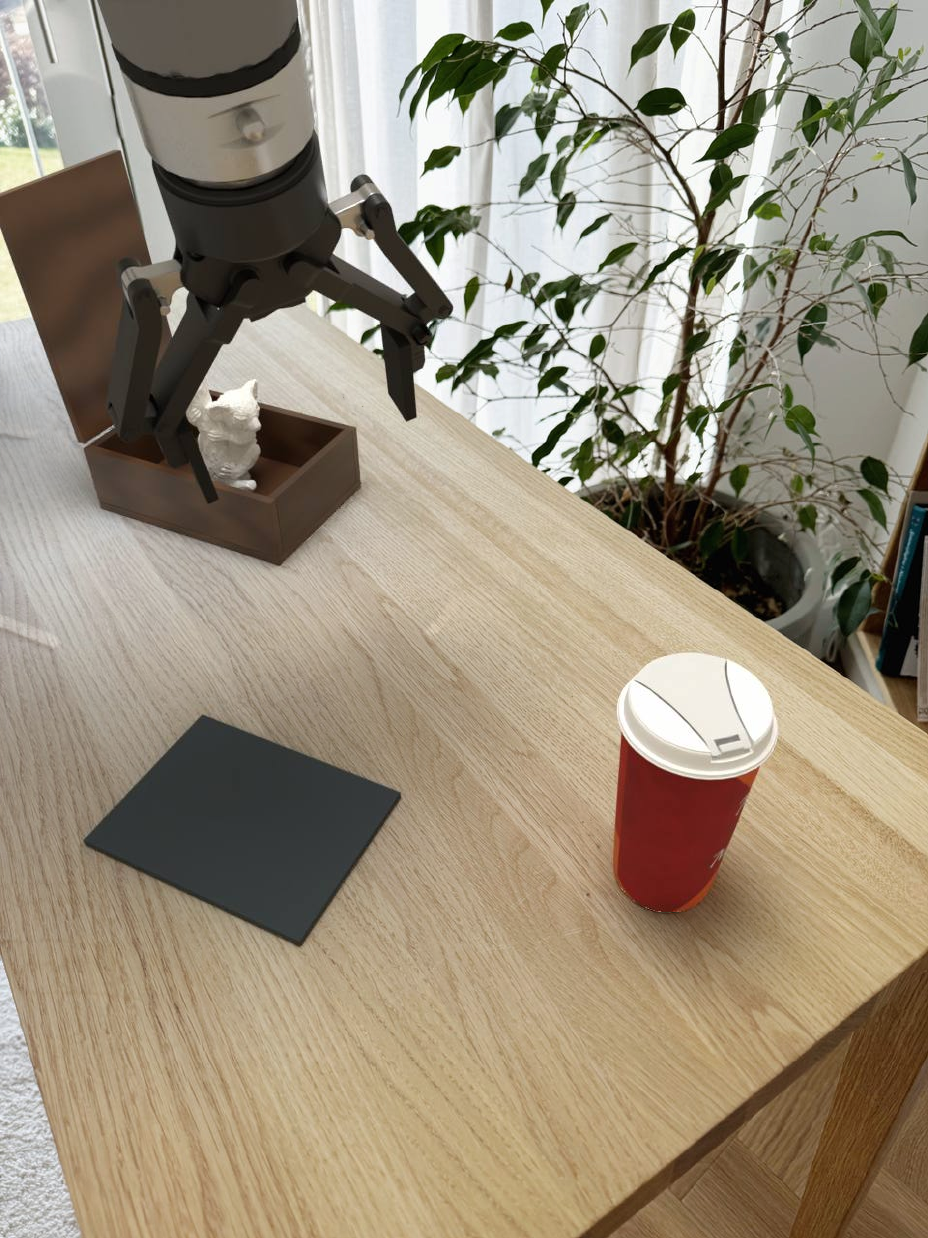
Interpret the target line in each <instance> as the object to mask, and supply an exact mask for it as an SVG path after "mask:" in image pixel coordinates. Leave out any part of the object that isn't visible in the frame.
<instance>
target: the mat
mask: <svg viewBox="0 0 928 1238" xmlns="http://www.w3.org/2000/svg"><path fill="white" fill-rule="evenodd" d="M401 798H402V792H401V791H398V790H395V789H394V788H390V787H388V786H385V785H383V784H380V783H378V782H375V781H373V780H371V779H368V778H365V777H363V776H360V775H357V774H355V773H353V772H351V771H347V770H345V769H342V768H340V767H338V766H335V765H332V764H330V763H327V762H325V761H322V760H321V759H320V760H319V759H317V758H315V757H312V756H310V755H307V754H304V753H302V752H300V751H297V750H294V749H292V748H290V747H287V746H283V745H281V744H279V743H277V742H274V741H271V740H270V739H266V738H264V737H261V736H258V735H257V734H254V733H251V732H249V731H246V730H243V729H241V728H239V727H236V726H233V725H231V724H228V723H226V722H223V721H221V720H218V719H215V718H213V717H210V716H207V715H205V714H201V715H200V716H199V717H198V718H197V719H196V720H195V721H194V723H193V724H192V725H191V726H189V728H188V729H187V730H186V731H185V732H184V733H183V734H182V735H181V736H180V737H179V738H178V739H177V741H176V742H174V743H173V745H172V746H171V747H170V748H168V750H167V751H166V752H165V753H164V754H163V755H162V756H161V757H160V758H159V759H158V760H157V762H155V763H154V765H152V767H151V768H150V769H149V770H148V771H147V772H146V773H145V774H144V775H143V776H142V777H141V779H139V780H138V782H136V784H135V785H134V786H133V787H132V788H130V790H129V791H128V792H127V793H126V794H125V795H124V797H122V799H121V800H119V802H118V803H116V804H115V806H114V807H112V809H111V810H110V811H109V812H108V813H107V814H106V816H105V817H103V818H102V820H100V821H99V823H98V824H97V825H95V827H94V828H93V829H92V830H91V831H90V832H89V833H88V835H86V836H85V837H84V838H83V840H82V841H83V843H84V845H85V846H87V847H89V848H91V849H94V850H96V851H97V852H100V853H102V854H104V855H106V856H108V857H111V858H112V859H115V860H117V861H119V862H121V863H123V864H125V865H127V866H129V867H132V868H133V869H136V870H138V871H140V872H142V873H144V874H147V876H150V877H153V878H155V879H157V880H159V881H162V882H163V883H166V884H168V885H169V886H171V887H174V888H176V889H178V890H180V891H183V892H184V893H186V894H189V895H192V896H193V897H195V898H197V899H200V900H201V901H204V902H206V903H208V904H210V905H212V906H214V907H216V908H218V909H220V910H223V911H224V912H227V913H229V914H231V915H234V916H235V917H237V918H240V919H242V920H244V921H246V922H248V923H250V924H252V925H255V926H256V927H259V928H260V929H263V930H265V931H267V932H269V933H271V934H273V935H276V936H277V937H279V938H282V939H284V940H286V941H289V942H290V941H291V942H290V943H292V942H293V944H295V945H296V946H299V945H301V946H302V945H303V943H304V941H306V939H307V937H308V935H309V934H310V933H309V931H310V932H311V931H312V930H313V928H314V927H313V926H315V925H316V924H317V922H318V921H319V919H320V918H321V916H322V915H323V913H324V912H325V910H326V909H327V908H328V906H329V905H330V903H331V901H332V900H333V898H334V897H335V896H336V894H337V893H336V892H338V891H339V890H340V888H341V887H342V885H343V884H344V882H345V881H346V879H347V878H348V877H349V875H350V874H351V872H352V870H353V869H354V867H355V866H356V865H357V863H358V862H359V860H360V859H361V857H362V856H363V854H364V853H365V852H366V850H367V848H368V847H369V845H370V844H371V842H372V841H373V839H374V838H375V836H376V835H377V834H378V832H379V831H380V829H381V827H382V826H383V824H384V823H385V822H386V820H387V819H388V817H389V816H390V814H391V813H392V811H393V810H394V808H395V807H396V805H397V804H398V802H399V801H400V799H401ZM388 815H389V816H388ZM369 843H370V844H369ZM366 847H367V848H366ZM354 865H355V866H354ZM352 868H353V869H352ZM350 871H351V872H350ZM348 874H349V875H348ZM346 877H347V878H346ZM344 880H345V881H344ZM342 883H343V884H342ZM341 884H342V885H341ZM340 886H341V887H340ZM339 887H340V888H339ZM338 889H339V890H338ZM337 890H338V891H337ZM335 893H336V894H335ZM333 896H334V897H333ZM331 899H332V900H331ZM329 902H330V903H329ZM327 905H328V906H327ZM325 908H326V909H325ZM321 914H322V915H321ZM320 915H321V916H320ZM319 917H320V918H319ZM318 918H319V919H318ZM317 920H318V921H317ZM316 921H317V922H316ZM315 923H316V924H315ZM314 924H315V925H314ZM311 929H312V930H311ZM308 933H309V934H308ZM307 934H308V935H307ZM306 936H307V937H306Z"/></svg>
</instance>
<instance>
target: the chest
mask: <svg viewBox="0 0 928 1238" xmlns="http://www.w3.org/2000/svg"><path fill="white" fill-rule="evenodd" d="M208 390H209V394H210V396H211V399H212V402H214V401H217V400H218V399H219V397H220V395H223V394H224V393H225V392H221V391H216V390H212V389H209V388H208ZM256 402H257V403H258V406H259V407H260V410H259V416H258V420H259V422H260V424H261V427H260V430H258V431H257V432H256V438H255V439H257V442H256V444H257V445H259V447H260V455H259V458H258V459H257V461H256V463H255V465H254V466H253V467H252V468H251V469H249V470H248V472H249V474H250V476H251V479H250V480H254V481H255V482H256V488H255V490H254V491H253V492H250V491H247V490H243V489H240V488H237V487H233V486H230V485H226V484H223V483H220V482H216V481H213V480H212V482H213V485H214V487H215V490H216V493H217V495H218V498H219V500H217V501H214V502H212V503H210V504H207V502H206V500H205V498H204V496H203V494H202V492H201V490H200V487H199V485H198V483H197V481H196V479H195V477H194V475H193V473H192V471H191V469H190V466H189V464H186V465H183V466H181V467H178V468H176V469H174V468H172V467H171V466H169V464H168V462H167V460H166V458H165V456H164V454H163V452H162V450H161V448H160V445H159V443H158V441H157V439H156V437H155V436H154V435H151V434H141V436H140V438H139V439H138V440H136V441H134V442H130V443H127V442H123V441H121V439H120V438H119V436H118V433H117V431H116V429H115V427H114V426H113V428H111V429H109V430H108V431H107V432H105V433H103V434H102V435H101V436H99V437H97V438H96V439H95V440H93V441H92V442H90V443H88V444H86V446H84V447H83V448H82V449H83V452H84V456H85V460H86V463H87V467H88V469H89V474H90V477H91V481H92V483H93V486H94V490H95V493H96V496H97V500H98V504H99V507H100V509H104V510H106V511H110V512H113V513H116V514H119V515H122V516H125V517H127V518H131V519H133V520H137V521H141V522H144V523H146V524H150V525H153V526H156V527H159V528H162V529H165V530H169V531H170V532H171V531H172V532H174V533H178V534H181V535H184V536H187V537H190V538H194V539H196V540H200V541H203V542H206V543H209V544H213V545H215V546H217V547H218V546H219V547H222V548H225V549H228V550H232V551H233V552H237V553H240V554H243V555H246V556H250V557H253V558H256V559H259V560H262V561H264V562H268V563H272V564H275V565H277V566H280V565H281V564H282V563H283V562H284V561H286V559H288V558H289V557H290V556H291V555H292V554H293V553H294V552H295V551H296V550H297V549H298V548H299V547H300V546H301V545H302V544H303V543H304V542H306V540H307V539H308V538H309V537H310V536H312V534H313V533H314V532H315V531H316V530H317V529H318V528H320V527H321V525H323V523H325V522H326V521H327V520H328V519H329V518H330V517H331V516H332V515H333V514H334V513H335V512H336V511H337V510H338V509H339V508H340V507H342V505H343V504H344V503H345V502H346V501H347V500H348V499H349V498H350V497H351V496H352V495H353V494H354V493H356V491H358V490H359V489H360V488H361V486H362V482H361V481H362V480H361V469H360V457H359V456H360V455H359V443H358V431H357V426H352V425H348V424H345V423H341V422H337V421H333V420H330V419H326V418H321V417H319V416H318V417H317V416H314V415H310V414H306V413H302V412H299V411H294V410H290V409H286V408H283V407H279V406H275V405H272V404H267V403H264V402H260V401H256ZM184 416H185V418H186V420H187V422H188V424H189V426H190V428H191V430H192V432H193V434H194V437H195V439H196V442H197V444H198V447H199V443H198V437H199V434H200V432H199V430H198V427H196V426H194V425H192V424H191V423H190V422H189V421H188V419H187V416H186V413H185V414H184Z"/></svg>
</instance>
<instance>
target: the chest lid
mask: <svg viewBox="0 0 928 1238" xmlns="http://www.w3.org/2000/svg"><path fill="white" fill-rule="evenodd" d="M122 153H123V152H122V150H121V149H112V150H110V151H106V152H104V153H101V154H99V155H97V156H94V157H91V158H89V159H86V160H83V161H81V162H77V163H76V164H73V165H69V166H67V167H65V168H62V169H60V170H57V171H54V172H52V173H49V174H47V175H43V176H41V177H39V178H36V179H34V180H33V179H32V180H31V181H28V182H25V183H22V184H20V185H18V186H15V187H12V188H10V189H7V190H4V191H1V192H0V231H1V232H0V233H1V234H2V238H3V240H4V243H5V246H6V248H7V251H8V253H9V257H10V260H11V262H12V265H13V268H14V270H15V273H16V275H17V278H18V281H19V284H20V287H21V289H22V292H23V295H24V298H25V300H26V304H27V306H28V308H29V311H30V314H31V316H32V320H33V323H34V325H35V329H36V330H37V334H38V336H39V339H40V341H41V344H42V347H43V349H44V352H45V355H46V358H47V360H48V363H49V366H50V369H51V372H52V374H53V377H54V381H55V383H56V385H57V389H58V391H59V393H60V396H61V399H62V402H63V405H64V407H65V411H66V413H67V416H68V419H69V421H70V425H71V427H72V429H73V433H74V434H75V437H76V440H77V443H78V444H82V445H83V444H84V445H85V444H87V443H89V442H90V441H91V440H93V439H94V438H96V437H98V436H99V435H100V434H102V433H104V432H105V431H107V430H108V429H110V428H112V427H114V425H113V423H112V420H111V418H110V416H109V414H108V412H107V409H106V405H105V404H106V399H107V393H108V387H109V381H110V375H111V369H112V363H113V357H114V351H115V345H116V339H117V334H118V328H119V322H120V316H121V310H122V304H123V295H122V291H121V287H120V283H119V280H118V276H117V272H116V266H117V263H118V262H119V261H120V260H121V259H123V258H125V257H133V258H136V259H137V260H138V261H139V262H140V264H141V266H142V267H144V266H148V265H152V264H153V262H152V257H151V254H150V251H149V248H148V244H147V240H146V237H145V233H144V228H143V226H142V222H141V219H140V215H139V211H138V207H137V204H136V200H135V197H134V193H133V190H132V186H131V181H130V179H129V175H128V172H127V168H126V167H127V166H126V165H125V159H124V157H123V154H122ZM167 316H168V315H165V316H162V322H163V331H162V338H161V343H160V348H159V353H158V358H157V362H156V367H155V370H156V368H157V366H158V364H159V362H160V360H161V359H162V357H163V355H164V353H165V351H166V349H167V347H168V345H169V343H170V341H171V339H172V337H173V334H172V331H171V326H170V324H169V319H168V317H167Z"/></svg>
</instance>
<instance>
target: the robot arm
mask: <svg viewBox="0 0 928 1238" xmlns="http://www.w3.org/2000/svg"><path fill="white" fill-rule="evenodd" d="M96 2H97V5H98V7H99V11H100V14H101V16H102V19H103V22H104V26H105V27H106V31H107V33H108V36H109V39H110V41H111V42H110V43H111V48H112V52H113V54H114V57H115V60H116V62H117V63H118V66H119V70H120V73H121V76H122V79H123V82H124V85H125V89H126V91H127V95H128V98H129V102H130V105H131V108H132V110H133V114H134V118H135V120H136V123H137V126H138V129H139V133H140V136H141V139H142V142H143V145H144V148H145V149H146V151H147V152H148V155H149V156H150V158H151V168H152V171H153V175H154V178H155V181H156V184H157V187H158V190H159V193H160V196H161V199H162V203H163V205H164V209H165V211H166V214H167V218H168V221H169V224H170V226H171V227H170V228H171V229H172V232H173V235H174V236H173V237H174V240H175V244H174V245H175V246H174V251H173V254H172V259H168V260H163V261H160V262H156V263H152V265H148V266H144V267H142V266H141V264H140V262H139V261H138V260H137V259H136V258H133V257H125V258H123V259H121V260H120V261H119V262H118V263H117V266H116V272H117V276H118V280H119V283H120V287H121V291H122V295H123V304H122V310H121V316H120V322H119V328H118V334H117V339H116V345H115V351H114V357H113V363H112V369H111V375H110V381H109V387H108V393H107V399H106V404H105V405H106V409H107V412H108V414H109V416H110V418H111V420H112V423H113V428H114V427H115V429H116V431H117V433H118V436H119V438H120V439H121V441H123V442H127V443H130V442H134V441H136V440H138V439H139V438H140V436H141V434H151V435H154V436H155V437H156V439H157V441H158V443H159V445H160V448H161V450H162V452H163V454H164V456H165V458H166V460H167V462H168V464H169V466H171V467H172V468H174V469H176V468H178V467H181V466H183V465H186V464H189V466H190V469H191V471H192V473H193V475H194V477H195V479H196V481H197V483H198V485H199V487H200V490H201V492H202V494H203V496H204V498H205V500H206V502H207V504H210V503H212V502H214V501H217V500H219V498H218V495H217V493H216V490H215V487H214V485H213V482H212V480H211V477H210V475H209V472H208V470H207V467H206V465H205V462H204V460H203V457H202V455H201V452H200V449H199V447H198V444H197V442H196V439H195V437H194V434H193V432H192V430H191V428H190V426H189V424H188V422H187V420H186V418H185V416H184V414H185V413H186V411H187V409H188V407H189V405H190V404H191V402H192V400H193V398H194V396H195V394H196V393H197V391H198V389H199V387H200V385H201V383H202V382H203V380H204V378H205V379H206V376H207V374H208V373H209V371H210V369H211V368H212V365H213V363H214V361H215V360H216V358H217V357H218V354H219V352H220V351H221V349H222V347H223V346H224V345H230V344H231V343H232V341H233V340H234V338H235V336H236V335H237V333H238V331H239V330H240V327H241V325H242V323H243V322H244V320H247V319H249V321H250V323H254V322H257V321H259V320H263V319H265V318H267V317H268V316H270V315H272V314H273V313H274V312H276V311H278V310H282V309H290V308H294V307H297V306H299V305H303V304H305V303H307V301H306V298H307V297H308V296H309V295H311V294H312V292H316V293H317V294H320V295H322V296H324V297H325V298H328V299H330V300H331V301H333V302H335V303H337V304H338V303H340V302H342V303H344V304H346V305H348V306H350V307H352V308H354V309H355V310H357V311H359V312H360V313H363V314H364V315H367V316H369V317H371V318H373V319H374V320H375V321H377V322H379V327H380V335H381V343H382V344H381V345H382V353H383V361H384V369H385V378H386V379H385V380H386V386H387V388H386V389H387V394H388V395H389V397H390V399H391V401H392V402H393V403H394V405H395V407H396V408H397V410H398V412H399V413H400V415H401V416H402V417H403V419H404V421H405V422H406V423H407V422H409V421H412V420H415V419H417V417H418V415H417V414H418V413H417V403H416V402H417V401H416V391H415V377H414V373H415V372H418V371H420V370H422V369H424V366H425V363H426V350H425V347H426V346H428V344H430V342H431V341H432V339H433V331H431V329H430V328H429V327H428V324H430V323H431V322H432V321H433V320H435V319H437V320H440V321H441V320H442V321H443V320H445V319H447V318H449V317H450V316H451V315H452V313H453V312H454V304H453V303H452V302H451V300H450V299H449V297H448V296H447V295H446V294H445V292H444V291H443V289H442V288H441V287H440V285H439V284H438V283H437V281H436V280H435V279H434V277H433V276H432V274H431V273H430V272H429V271H428V269H427V268H426V267H425V266H424V264H423V263H422V262H421V260H420V259H419V258H418V257H417V255H416V254H415V253H414V252H413V250H412V249H411V248H410V246H409V245H408V244H407V242H406V241H405V240H404V239H403V237H402V236H401V234H399V232H398V229H397V225H396V221H395V217H394V211H393V208H392V206H391V204H390V202H389V201H388V200H387V198H386V197H385V195H384V194H383V193H382V192H381V190H380V189H379V187H378V186H377V185H376V184H375V182H374V181H373V179H372V178H371V177H370V176H369V175H368V174H365V173H362V174H358V175H357V176H356V177H354V178H353V179H352V180H351V182H350V186H349V187H350V189H349V190H350V193H348V194H346V195H344V196H341V197H340V198H337V199H336V200H333V201H331V202H329V198H328V197H329V196H328V191H327V184H326V179H325V172H324V165H323V160H322V153H321V146H320V140H319V136H318V133H317V131H316V129H315V123H316V118H315V111H314V105H313V99H312V93H311V87H310V80H309V74H308V68H307V61H306V56H305V50H304V43H303V37H302V33H301V28H300V22H299V8H298V1H297V0H96ZM343 229H350V230H352V232H353V233H354V234H355V235H356V236H357V237H360V238H365V240H367V241H371V240H373V241H374V243H375V244H376V245H377V247H378V248H379V250H380V251H381V253H382V254H383V255H384V257H385V258H386V259H387V260H388V261H389V263H390V264H391V265H392V266H393V268H394V269H395V270H396V271H397V272H398V273H399V275H400V276H401V277H402V278H403V280H404V281H405V282H406V283H407V285H408V286H409V287H410V288H411V289H412V290H413V293H411V294H410V295H409V296H408V297H407V296H405V295H404V294H402V293H400V292H399V291H397V290H396V289H394V288H392V287H390V286H388V285H387V284H385V283H383V282H382V281H381V280H378V279H377V278H374V277H373V276H372V275H369V274H368V273H366V272H365V271H363V270H361V269H360V268H358V267H356V266H354V265H353V264H351V263H349V262H347V261H346V260H344V259H342V258H340V257H339V256H337V255H336V254H334V252H335V250H336V248H337V246H338V243H339V242H340V240H341V236H342V230H343ZM182 288H184V289H185V290H186V291H187V292H188V293H187V295H186V300H185V306H186V307H185V310H184V311H185V312H184V313H183V316H182V317H181V320H180V321H179V324H178V325H177V327H176V329H175V331H174V333H173V334H172V339H171V341H170V343H169V345H168V347H167V349H166V351H165V353H164V355H163V357H162V359H161V360H160V362H159V364H158V366H157V368H156V370H155V367H156V362H157V358H158V353H159V348H160V343H161V338H162V331H163V322H162V316H165V315H166V316H168V315H169V314H170V313H171V305H172V301H173V296H174V294H175V293H176V291H178V290H179V289H182Z"/></svg>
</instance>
